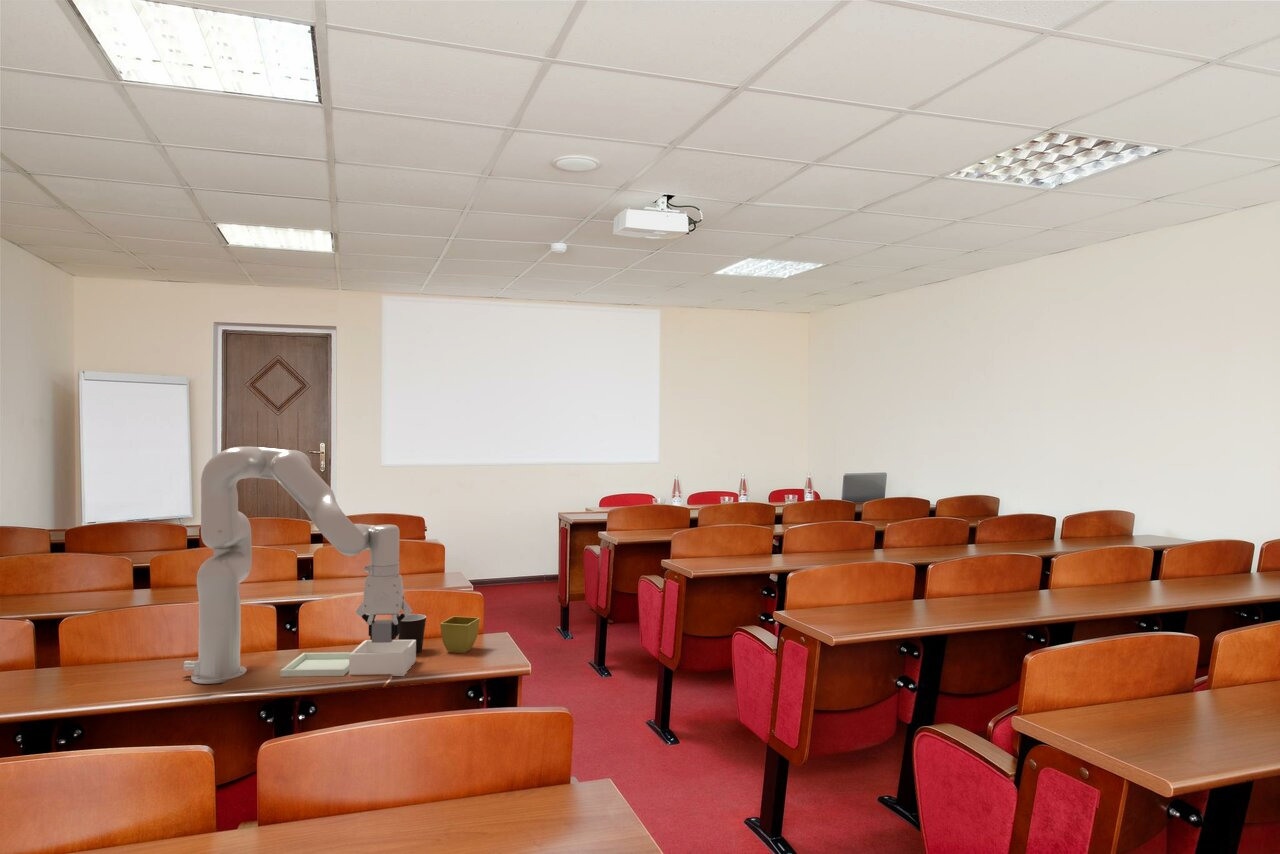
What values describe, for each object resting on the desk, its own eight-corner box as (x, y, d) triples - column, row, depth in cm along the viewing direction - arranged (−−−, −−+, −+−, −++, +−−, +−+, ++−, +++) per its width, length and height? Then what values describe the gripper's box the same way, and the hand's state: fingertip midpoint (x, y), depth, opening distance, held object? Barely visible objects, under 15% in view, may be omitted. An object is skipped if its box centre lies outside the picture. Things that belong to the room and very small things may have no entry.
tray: (280, 679, 198) (280, 670, 198) (303, 661, 214) (303, 652, 214) (343, 678, 199) (343, 669, 199) (361, 660, 215) (362, 652, 215)
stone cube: (371, 642, 205) (371, 623, 205) (376, 637, 210) (377, 619, 210) (390, 642, 205) (391, 623, 205) (395, 637, 210) (395, 619, 210)
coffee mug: (420, 656, 220) (421, 621, 220) (390, 656, 220) (391, 620, 220) (432, 645, 231) (432, 612, 232) (403, 645, 231) (404, 611, 232)
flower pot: (467, 656, 220) (467, 624, 220) (439, 654, 222) (439, 622, 222) (479, 647, 229) (480, 617, 229) (452, 646, 231) (452, 616, 231)
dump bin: (348, 677, 200) (349, 654, 200) (364, 661, 214) (364, 640, 214) (403, 676, 201) (404, 653, 201) (415, 661, 215) (416, 639, 215)
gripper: (347, 573, 203) (347, 642, 203) (413, 573, 205) (412, 642, 204) (356, 568, 211) (355, 635, 211) (419, 568, 212) (418, 634, 212)
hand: (383, 637), depth 208 cm, fingers closed on stone cube, 4 cm apart
